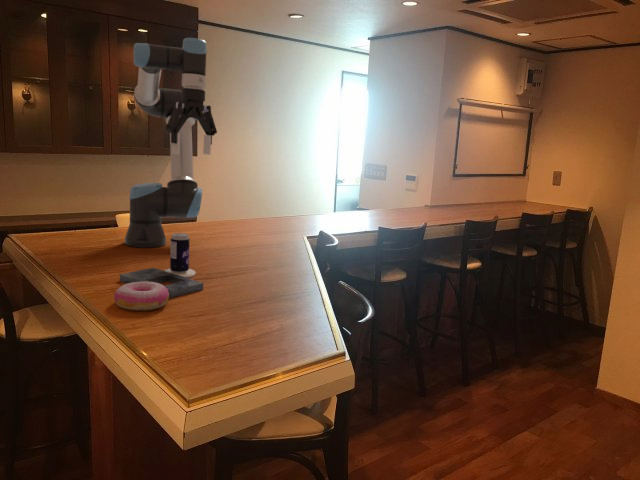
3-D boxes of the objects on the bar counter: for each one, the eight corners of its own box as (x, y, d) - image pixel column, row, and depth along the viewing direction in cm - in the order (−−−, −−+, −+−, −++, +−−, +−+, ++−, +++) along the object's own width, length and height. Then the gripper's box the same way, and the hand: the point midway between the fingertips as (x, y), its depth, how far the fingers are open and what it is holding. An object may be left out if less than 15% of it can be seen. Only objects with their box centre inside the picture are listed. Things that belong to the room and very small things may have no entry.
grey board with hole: (119, 281, 153) (119, 274, 153) (153, 273, 163) (153, 267, 163) (170, 298, 141) (170, 291, 141) (203, 289, 151) (203, 282, 151)
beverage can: (183, 275, 162) (184, 237, 160) (166, 272, 163) (167, 235, 161) (191, 270, 167) (192, 234, 165) (175, 268, 168) (176, 232, 166)
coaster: (155, 273, 164) (155, 271, 164) (180, 268, 172) (180, 266, 172) (177, 280, 158) (177, 278, 158) (202, 274, 167) (202, 272, 167)
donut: (126, 295, 142) (126, 277, 141) (175, 299, 142) (176, 281, 141) (105, 311, 129) (105, 291, 128) (159, 315, 129) (159, 296, 128)
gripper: (171, 84, 159) (169, 154, 163) (228, 93, 180) (226, 155, 184) (154, 83, 163) (154, 152, 167) (213, 92, 184) (211, 153, 188)
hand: (191, 154), depth 175 cm, fingers open, 13 cm apart
